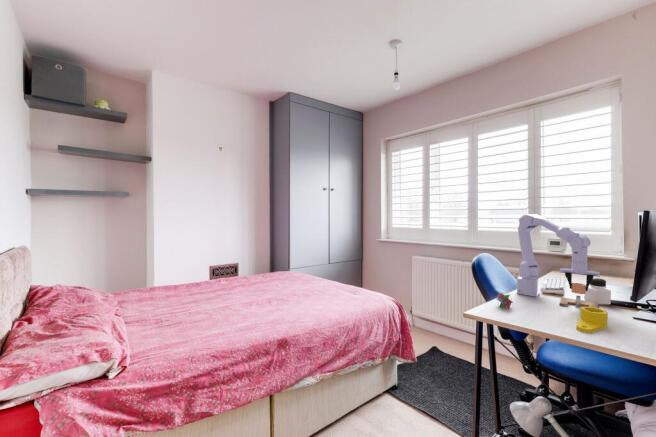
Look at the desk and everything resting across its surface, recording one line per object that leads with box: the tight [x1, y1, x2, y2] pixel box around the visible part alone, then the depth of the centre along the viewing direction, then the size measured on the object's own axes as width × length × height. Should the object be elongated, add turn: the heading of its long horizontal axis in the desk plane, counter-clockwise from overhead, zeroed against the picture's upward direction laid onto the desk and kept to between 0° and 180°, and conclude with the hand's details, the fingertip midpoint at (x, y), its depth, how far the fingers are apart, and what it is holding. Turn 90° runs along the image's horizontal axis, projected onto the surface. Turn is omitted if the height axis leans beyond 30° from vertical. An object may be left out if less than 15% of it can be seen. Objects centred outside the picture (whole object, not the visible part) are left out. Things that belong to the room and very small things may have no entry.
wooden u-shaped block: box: [559, 296, 599, 308], centre depth 148 cm, size 14×12×1 cm
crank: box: [575, 306, 609, 334], centre depth 122 cm, size 18×8×6 cm, turn 125°
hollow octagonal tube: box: [571, 282, 586, 295], centre depth 145 cm, size 5×5×4 cm
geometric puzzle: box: [496, 292, 514, 309], centre depth 146 cm, size 7×7×8 cm
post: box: [573, 294, 582, 309], centre depth 145 cm, size 3×3×6 cm
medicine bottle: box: [584, 277, 612, 305], centre depth 152 cm, size 7×7×12 cm
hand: (578, 289), depth 145 cm, fingers closed on hollow octagonal tube, 5 cm apart
